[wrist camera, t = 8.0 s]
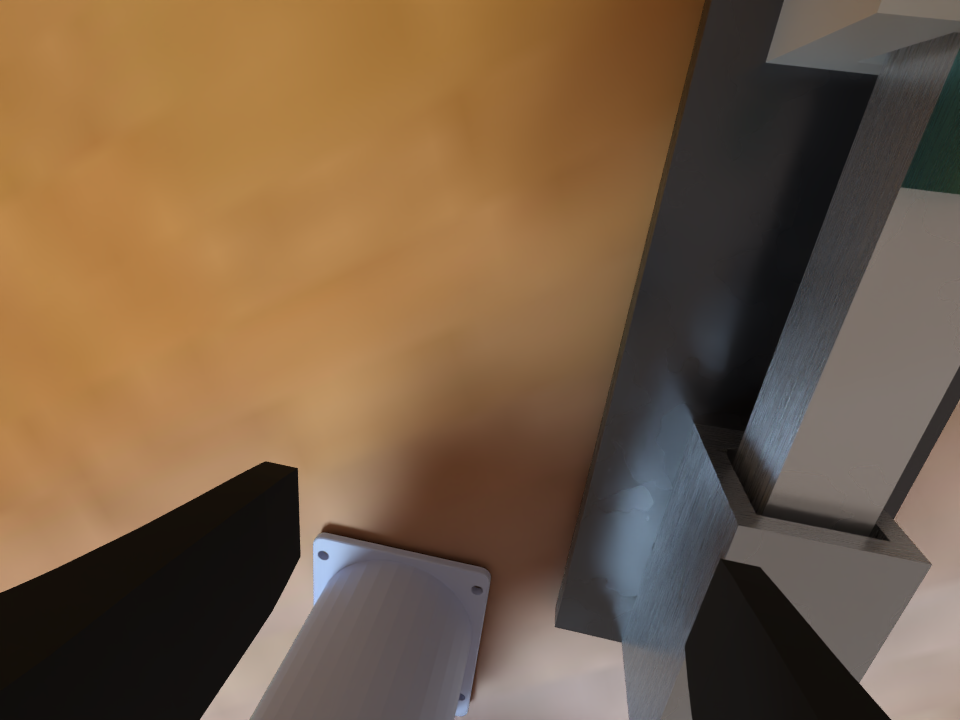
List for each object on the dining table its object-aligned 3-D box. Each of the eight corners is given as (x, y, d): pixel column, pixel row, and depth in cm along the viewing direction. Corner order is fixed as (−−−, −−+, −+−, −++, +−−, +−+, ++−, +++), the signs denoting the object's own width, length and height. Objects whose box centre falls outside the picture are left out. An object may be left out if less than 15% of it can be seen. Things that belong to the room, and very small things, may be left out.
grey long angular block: (793, 661, 22) (869, 842, 16) (555, 607, 23) (549, 759, 17) (1190, -94, 12) (1758, -318, 6) (736, -128, 13) (864, -345, 7)
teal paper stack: (797, 533, 16) (961, 815, 9) (713, 515, 17) (812, 777, 10) (1080, -78, 10) (2132, -544, 3) (939, -88, 11) (1639, -539, 4)
